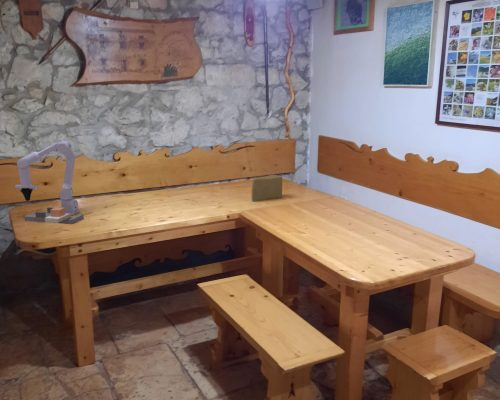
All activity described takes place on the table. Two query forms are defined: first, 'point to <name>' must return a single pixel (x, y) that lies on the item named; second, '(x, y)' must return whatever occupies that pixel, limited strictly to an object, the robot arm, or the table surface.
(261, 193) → the olive upright slab
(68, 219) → the tunnel deck
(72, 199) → the robot arm
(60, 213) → the block
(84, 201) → the table surface
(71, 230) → the table surface
